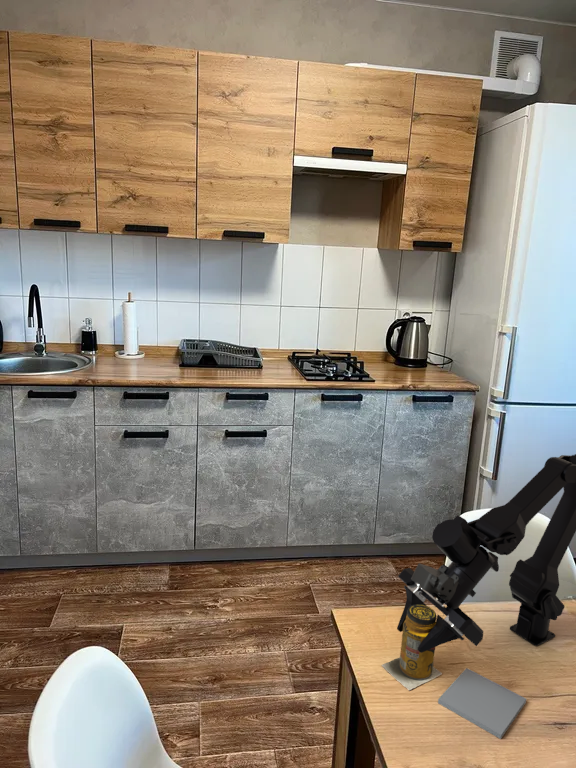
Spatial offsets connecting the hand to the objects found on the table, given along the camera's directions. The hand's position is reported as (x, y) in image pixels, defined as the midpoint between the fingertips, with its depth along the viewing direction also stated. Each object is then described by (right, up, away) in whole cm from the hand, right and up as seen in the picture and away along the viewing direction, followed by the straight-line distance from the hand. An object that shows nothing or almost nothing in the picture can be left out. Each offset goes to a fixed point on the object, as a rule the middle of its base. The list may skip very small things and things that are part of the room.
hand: (408, 640), depth 107 cm
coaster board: (+12, -8, -5) cm, 15 cm away
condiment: (+1, -7, +2) cm, 7 cm away
